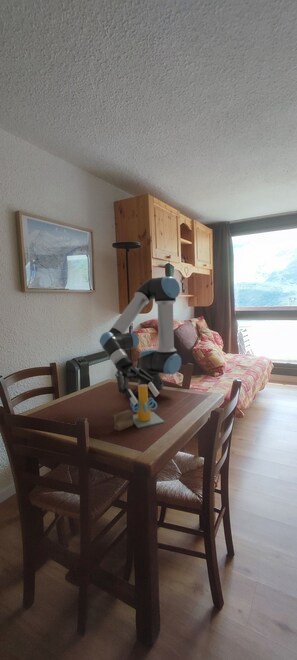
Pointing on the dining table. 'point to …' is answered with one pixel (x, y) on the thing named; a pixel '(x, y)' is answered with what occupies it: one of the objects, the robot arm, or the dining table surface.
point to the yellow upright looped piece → (143, 404)
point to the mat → (152, 421)
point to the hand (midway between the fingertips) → (147, 399)
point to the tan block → (123, 420)
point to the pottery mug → (138, 394)
